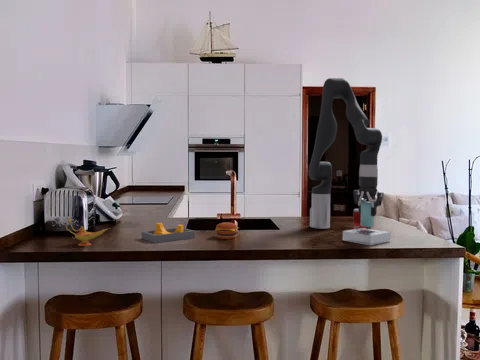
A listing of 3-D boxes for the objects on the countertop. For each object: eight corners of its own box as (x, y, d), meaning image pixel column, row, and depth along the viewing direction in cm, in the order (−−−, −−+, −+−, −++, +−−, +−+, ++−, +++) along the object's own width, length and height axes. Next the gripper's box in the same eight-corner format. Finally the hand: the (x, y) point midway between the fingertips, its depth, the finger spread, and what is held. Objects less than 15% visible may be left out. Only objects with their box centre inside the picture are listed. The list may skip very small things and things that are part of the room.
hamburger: (218, 235, 205) (218, 220, 204) (239, 236, 203) (239, 221, 202) (213, 238, 195) (213, 223, 195) (234, 239, 194) (235, 224, 193)
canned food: (371, 234, 208) (371, 210, 208) (353, 233, 210) (353, 210, 209) (369, 231, 216) (370, 208, 215) (352, 231, 217) (353, 208, 217)
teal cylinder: (357, 225, 192) (358, 202, 192) (365, 224, 195) (366, 201, 195) (368, 227, 188) (369, 203, 187) (376, 225, 191) (376, 202, 191)
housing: (342, 240, 193) (342, 231, 193) (362, 236, 202) (362, 227, 202) (370, 245, 182) (370, 235, 182) (390, 241, 191) (390, 232, 191)
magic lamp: (107, 246, 177) (107, 218, 176) (62, 246, 177) (62, 218, 177) (113, 243, 184) (113, 216, 183) (69, 242, 184) (69, 215, 184)
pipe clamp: (154, 239, 195) (153, 224, 195) (158, 237, 199) (158, 222, 199) (179, 241, 191) (178, 226, 191) (183, 239, 195) (183, 224, 195)
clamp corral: (141, 238, 194) (141, 231, 194) (180, 233, 207) (180, 227, 206) (155, 242, 185) (155, 235, 185) (194, 237, 197) (194, 230, 197)
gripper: (348, 174, 194) (348, 214, 195) (377, 176, 182) (376, 218, 183) (359, 174, 198) (358, 212, 199) (388, 176, 187) (387, 216, 188)
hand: (367, 215), depth 191 cm, fingers closed on teal cylinder, 5 cm apart
